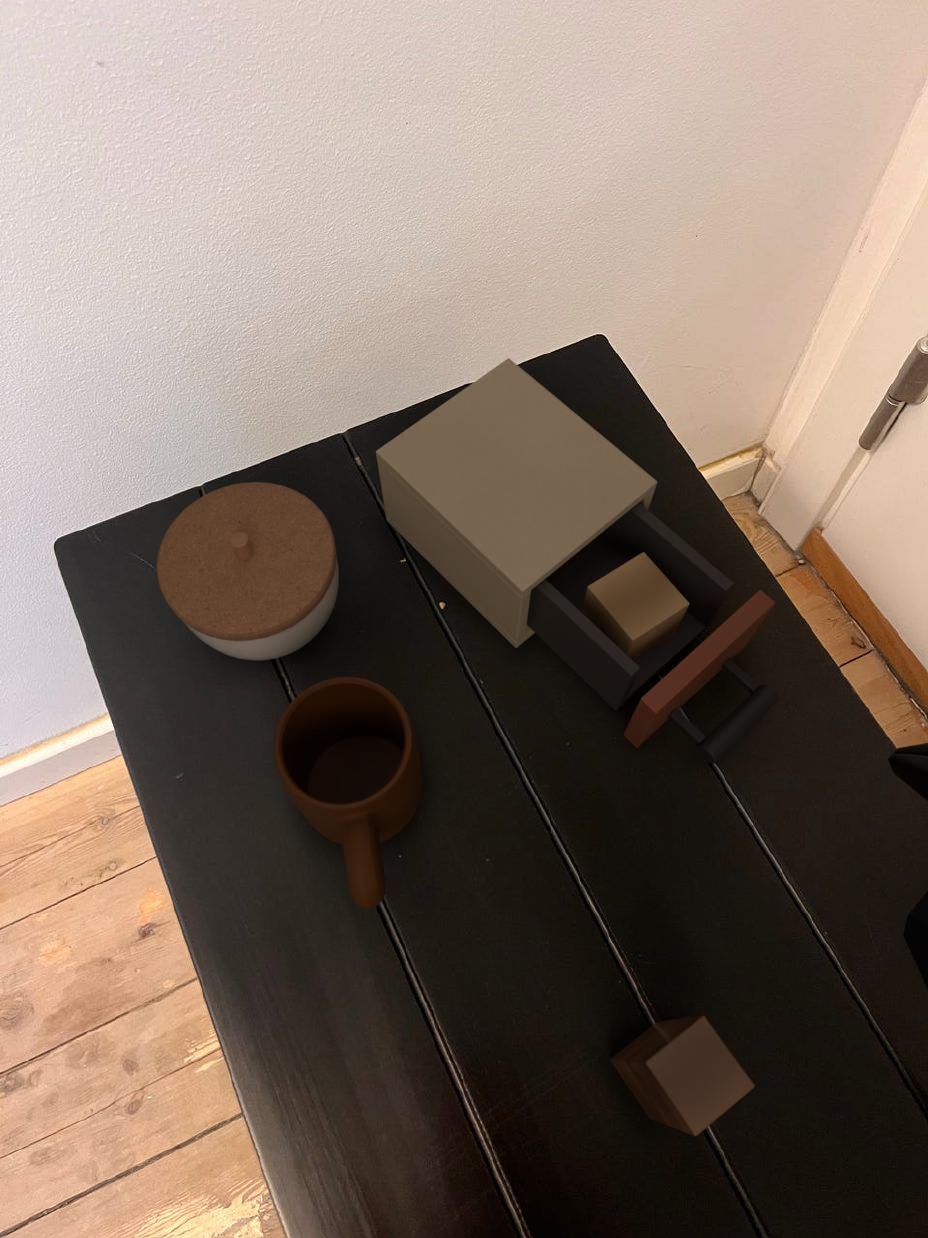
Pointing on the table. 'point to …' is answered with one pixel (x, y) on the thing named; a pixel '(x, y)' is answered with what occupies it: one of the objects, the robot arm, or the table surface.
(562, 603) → the drawer
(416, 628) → the table surface
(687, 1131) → the post
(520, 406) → the cabinet
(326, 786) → the mug
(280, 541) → the trinket box
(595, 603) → the block
